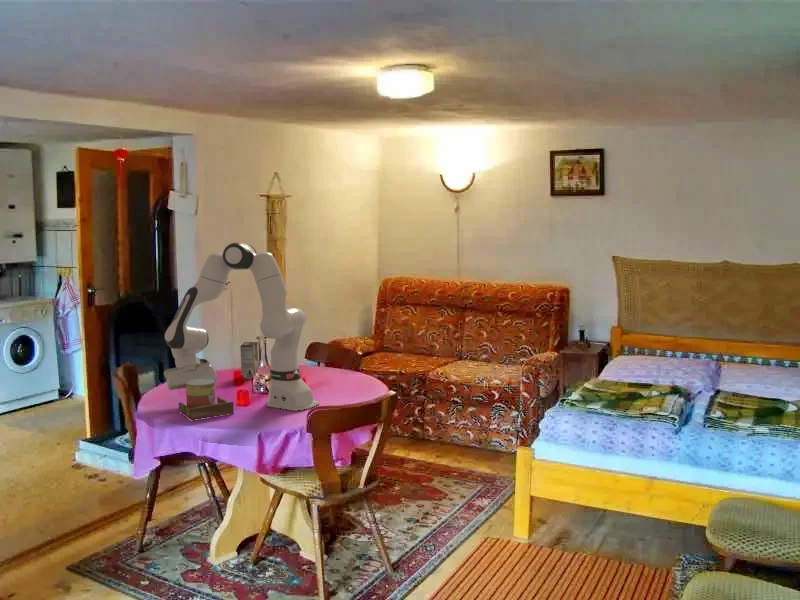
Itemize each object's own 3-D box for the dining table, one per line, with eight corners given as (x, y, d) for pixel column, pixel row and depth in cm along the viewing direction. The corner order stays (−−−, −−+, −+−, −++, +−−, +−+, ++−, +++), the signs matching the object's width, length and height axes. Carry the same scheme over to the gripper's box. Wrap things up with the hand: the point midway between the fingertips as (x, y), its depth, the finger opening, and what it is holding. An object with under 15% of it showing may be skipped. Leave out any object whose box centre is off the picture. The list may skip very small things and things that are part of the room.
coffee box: (245, 374, 366) (244, 341, 363) (258, 374, 365) (257, 341, 363) (241, 379, 356) (240, 345, 354) (254, 379, 356) (253, 345, 354)
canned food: (209, 415, 298) (208, 385, 296) (182, 414, 300) (180, 384, 298) (220, 407, 309) (219, 378, 307) (193, 406, 311) (192, 377, 309)
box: (179, 412, 302) (178, 400, 301) (220, 405, 312) (219, 394, 311) (191, 421, 290) (191, 408, 290) (233, 414, 300) (233, 402, 299)
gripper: (164, 365, 308) (172, 394, 301) (212, 359, 319) (222, 386, 312) (161, 373, 312) (169, 402, 305) (209, 367, 323) (218, 395, 317)
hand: (196, 394), depth 309 cm, fingers closed
